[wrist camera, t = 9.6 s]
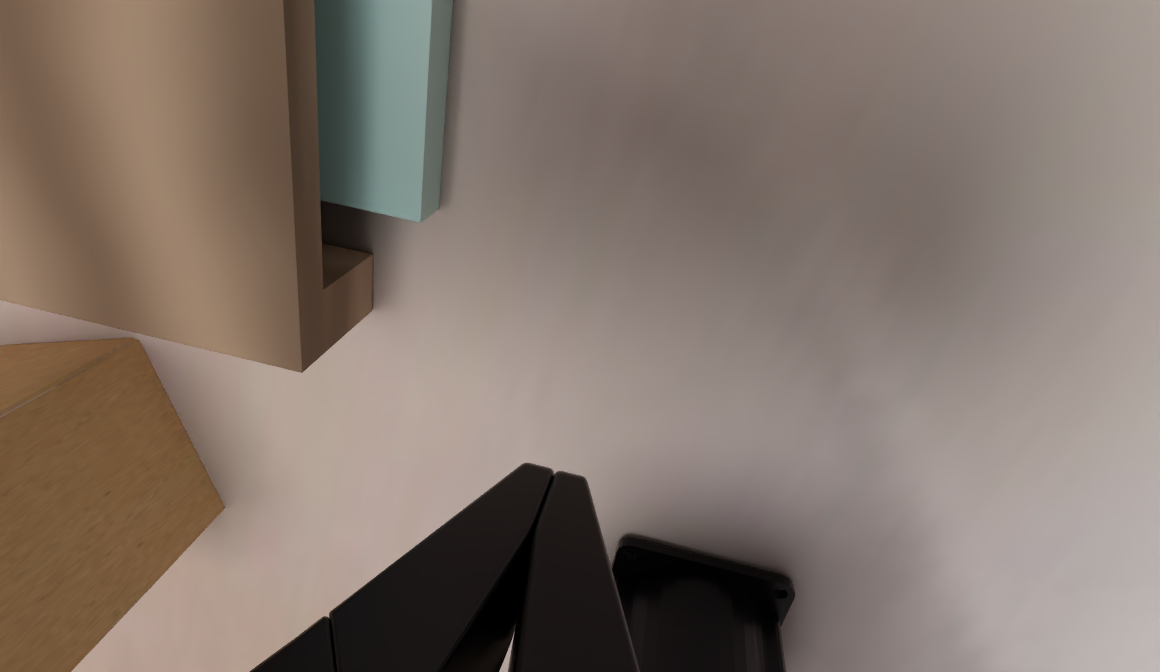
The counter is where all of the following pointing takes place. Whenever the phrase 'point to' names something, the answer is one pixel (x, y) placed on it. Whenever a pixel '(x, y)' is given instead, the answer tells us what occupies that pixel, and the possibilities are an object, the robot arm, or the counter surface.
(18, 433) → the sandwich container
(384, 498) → the counter surface
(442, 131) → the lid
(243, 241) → the low shelf
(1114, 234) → the counter surface
